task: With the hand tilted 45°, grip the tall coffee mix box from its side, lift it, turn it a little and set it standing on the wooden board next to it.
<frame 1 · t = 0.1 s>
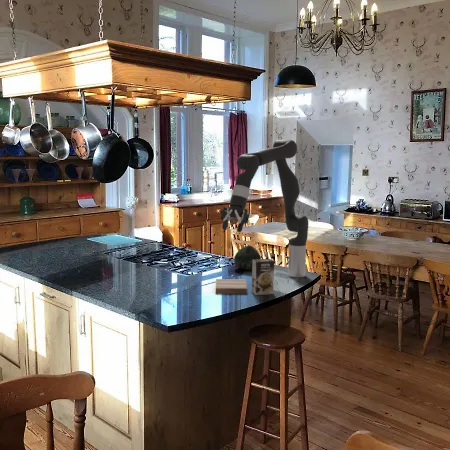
hand: (231, 231, 229), 31 cm above the counter, tool tilted 20°, fingers open, 8 cm apart
coffee box: (262, 293, 243), on the counter
squash: (247, 269, 291), on the counter
wooden board: (231, 288, 250), on the counter
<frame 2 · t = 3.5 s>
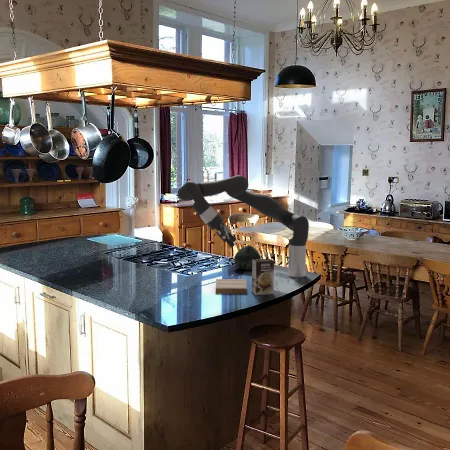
hand: (234, 243, 238), 24 cm above the counter, tool tilted 40°, fingers open, 8 cm apart
nothing on the counter moved.
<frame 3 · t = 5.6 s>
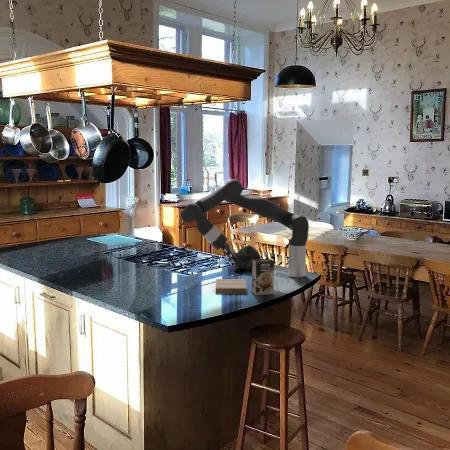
hand: (239, 261, 241), 15 cm above the counter, tool tilted 45°, fingers open, 8 cm apart
nothing on the counter moved.
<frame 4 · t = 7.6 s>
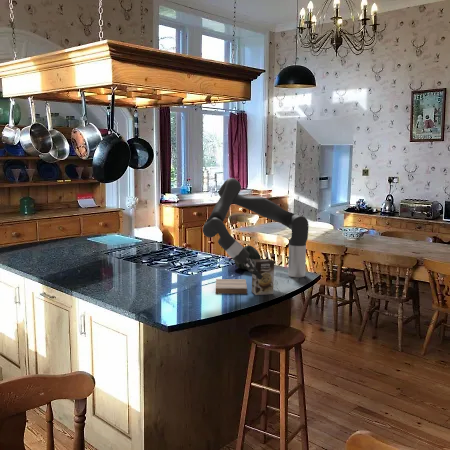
hand: (260, 276, 242), 8 cm above the counter, tool tilted 45°, fingers open, 8 cm apart
nothing on the counter moved.
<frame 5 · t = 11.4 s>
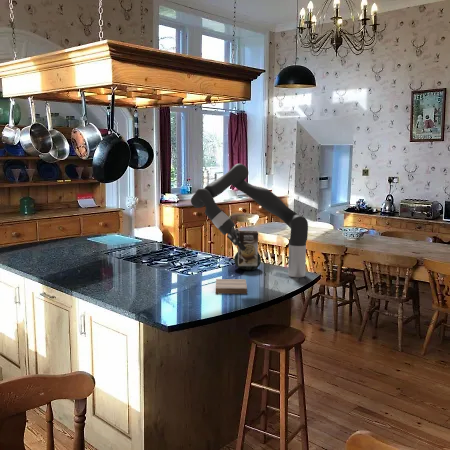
hand: (246, 248, 243), 21 cm above the counter, tool tilted 45°, fingers closed on coffee box, 7 cm apart
coffee box: (247, 265, 244), point 13 cm above the counter, touching gripper
everything else where it was.
when the fingers open (12 cm above the counter, at t = 14.7 s): coffee box drops 1 cm, resting on wooden board.
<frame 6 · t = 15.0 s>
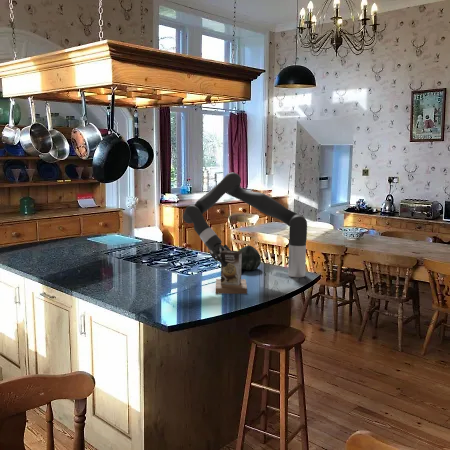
hand: (230, 264, 249), 12 cm above the counter, tool tilted 45°, fingers open, 8 cm apart
coffee box: (231, 283, 250), point 2 cm above the counter, touching wooden board
everything else where it was.
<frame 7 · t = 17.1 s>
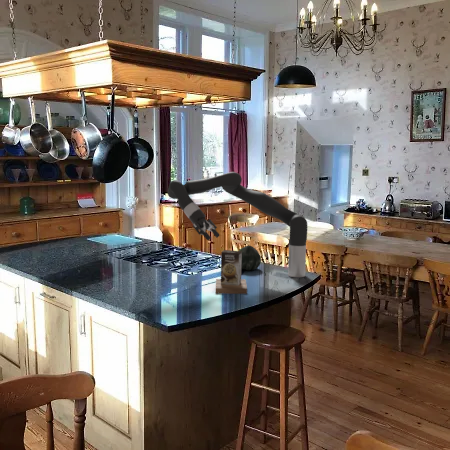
hand: (213, 237, 252), 24 cm above the counter, tool tilted 45°, fingers open, 8 cm apart
nothing on the counter moved.
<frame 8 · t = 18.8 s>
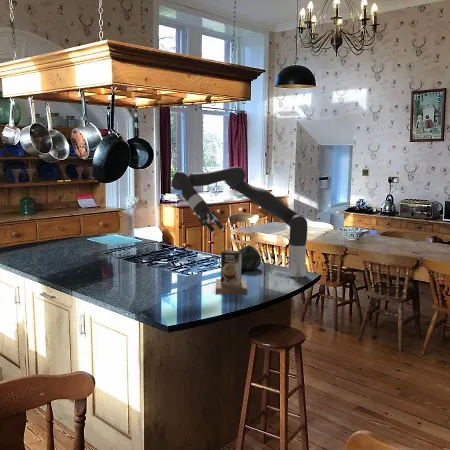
hand: (217, 229, 250), 29 cm above the counter, tool tilted 45°, fingers open, 8 cm apart
nothing on the counter moved.
at the end: coffee box inside the target area on the wooden board (0.3 cm from its centre), point 2.3 cm above the wooden board's base; coffee box tilted 0°; the gripper is holding nothing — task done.
